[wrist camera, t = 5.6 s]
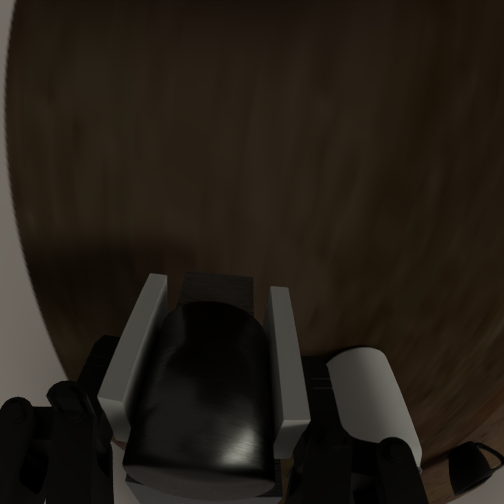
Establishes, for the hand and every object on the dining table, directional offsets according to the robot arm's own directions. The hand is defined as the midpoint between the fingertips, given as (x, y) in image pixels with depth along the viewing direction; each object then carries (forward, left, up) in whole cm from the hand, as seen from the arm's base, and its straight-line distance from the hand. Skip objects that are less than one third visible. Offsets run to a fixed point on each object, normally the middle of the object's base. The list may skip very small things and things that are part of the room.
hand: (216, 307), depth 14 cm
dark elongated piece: (+11, 0, -1) cm, 11 cm away
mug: (+38, +50, -7) cm, 63 cm away
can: (+12, +12, -7) cm, 19 cm away
